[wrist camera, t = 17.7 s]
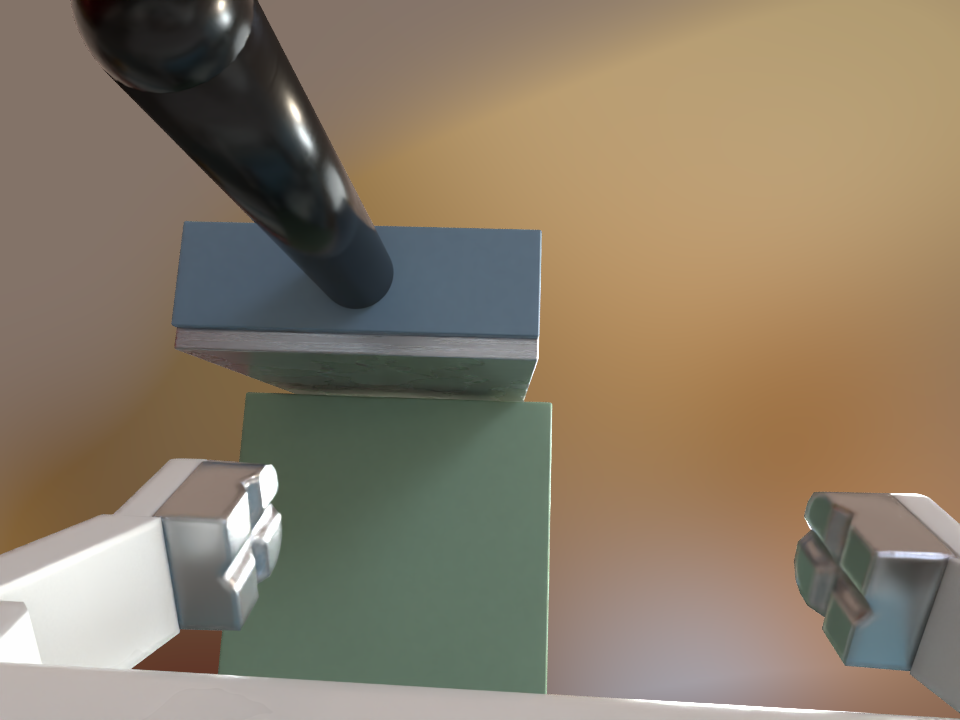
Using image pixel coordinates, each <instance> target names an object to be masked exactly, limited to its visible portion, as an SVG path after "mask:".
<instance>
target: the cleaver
mask: <svg viewBox="0 0 960 720" xmlns="http://www.w3.org/2000/svg"><path fill="white" fill-rule="evenodd" d="M70 1H71V7H72V12H73V18H74V21H75V24H76V26H77V28H78V31H79V33H80V35H81V37H82V39H83V42H84V44H85V46H86V47H87V49H88V50H89V51H90V53H91V54H92V56H93V57H94V58H95V59H96V61H97V62H98V63H99V65H100V66H101V67H102V68H103V70H104V71H105V72H106V73H107V74H108V75H109V76H110V77H111V78H112V79H113V80H114V81H115V82H116V83H117V84H118V85H119V86H120V87H121V88H122V89H123V90H124V91H125V92H126V93H127V94H128V95H129V96H130V97H131V98H132V99H133V100H134V101H135V102H136V103H137V104H138V105H139V106H140V107H141V108H142V109H143V110H144V111H145V112H146V113H147V114H148V115H149V116H150V117H151V118H152V119H153V120H154V121H155V122H156V123H157V124H158V125H159V126H160V127H161V128H162V129H163V130H164V131H165V132H166V133H167V134H168V135H169V136H170V137H171V138H172V139H173V140H174V141H175V142H176V143H177V144H178V145H179V146H180V147H181V148H182V149H183V150H184V151H185V152H186V154H187V155H188V156H189V157H190V158H191V159H192V160H193V161H195V162H196V164H197V165H198V166H199V167H200V168H201V169H202V170H203V171H204V172H205V173H206V174H207V175H208V176H209V177H210V178H211V179H212V180H213V181H214V182H215V183H216V184H217V185H218V186H219V187H220V188H221V189H222V190H223V191H224V192H225V193H226V194H227V195H228V196H229V197H230V198H231V199H232V200H233V201H234V202H235V203H236V204H237V205H238V206H239V207H240V208H241V209H242V210H243V211H244V212H245V213H246V214H247V215H248V216H249V217H250V218H251V219H252V220H253V221H254V222H255V223H233V222H192V221H190V222H189V221H185V222H184V226H183V234H182V242H181V250H180V258H179V267H178V275H177V283H176V291H175V300H174V307H173V315H172V325H173V326H175V327H177V331H176V339H175V349H177V350H179V351H182V352H185V353H187V354H190V355H193V356H196V357H198V358H201V359H204V360H206V361H209V362H212V363H214V364H217V365H220V366H222V367H225V368H228V369H230V370H233V371H236V372H238V373H241V374H244V375H246V376H249V377H252V378H255V379H257V380H260V381H263V382H265V383H268V384H271V385H273V386H276V387H279V388H282V389H284V390H287V391H289V392H292V393H295V394H312V395H342V396H371V397H400V398H429V399H459V400H488V401H517V402H523V401H524V398H525V395H526V392H527V390H528V387H529V384H530V381H531V378H532V375H533V372H534V369H535V367H536V363H537V361H538V344H539V343H538V342H539V328H540V327H539V326H540V325H539V324H540V283H541V237H542V232H541V230H519V229H479V228H437V227H397V226H374V225H373V223H372V221H371V219H370V218H369V216H368V214H367V212H366V210H365V208H364V206H363V204H362V202H361V200H360V198H359V197H358V194H357V192H356V191H355V188H354V187H353V185H352V183H351V181H350V179H349V177H348V175H347V173H346V171H345V169H344V167H343V165H342V163H341V161H340V159H339V157H338V156H337V154H336V152H335V150H334V148H333V146H332V144H331V142H330V140H329V138H328V136H327V135H326V132H325V130H324V128H323V127H322V125H321V123H320V121H319V119H318V117H317V115H316V113H315V111H314V109H313V107H312V105H311V103H310V101H309V99H308V97H307V95H306V94H305V92H304V90H303V88H302V86H301V84H300V82H299V80H298V78H297V76H296V74H295V72H294V70H293V69H292V66H291V65H290V63H289V61H288V59H287V57H286V55H285V53H284V51H283V49H282V47H281V45H280V43H279V41H278V39H277V37H276V35H275V33H274V31H273V30H272V28H271V26H270V24H269V22H268V20H267V18H266V16H265V14H264V12H263V10H262V8H261V6H260V5H259V3H258V0H70Z"/></svg>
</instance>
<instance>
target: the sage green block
mask: <svg viewBox="0 0 960 720" xmlns="http://www.w3.org/2000/svg"><path fill="white" fill-rule="evenodd" d="M551 429H552V404H551V403H546V402H545V403H544V402H517V401H488V400H459V399H429V398H400V397H371V396H342V395H312V394H283V393H282V394H281V393H252V392H248V393H247V394H246V400H245V411H244V421H243V430H242V440H241V451H240V461H239V462H245V463H260V464H272V466H273V467H274V469H275V470H276V473H277V481H278V489H279V490H278V492H277V493H276V495H275V497H274V498H273V500H272V502H271V504H272V505H273V506H274V507H275V509H276V510H277V511H278V512H279V513H280V515H281V522H282V539H281V547H280V551H279V555H278V559H277V563H276V565H275V567H274V569H273V571H272V573H271V575H270V577H268V578H266V579H265V580H263V581H262V582H260V583H258V584H257V587H258V596H259V598H258V599H257V601H256V603H255V605H254V607H253V609H252V611H251V612H250V614H249V616H248V618H247V620H246V622H245V623H244V625H243V627H242V629H241V631H230V630H222V640H221V651H220V660H219V671H218V675H235V676H251V677H268V678H285V679H301V680H318V681H335V682H351V683H368V684H385V685H401V686H418V687H435V688H451V689H468V690H485V691H501V692H518V693H535V694H547V652H548V650H547V648H548V598H549V597H548V595H549V542H550V539H549V538H550V489H551V488H550V487H551V485H550V484H551V435H552V430H551Z"/></svg>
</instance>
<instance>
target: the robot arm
mask: <svg viewBox="0 0 960 720" xmlns="http://www.w3.org/2000/svg"><path fill="white" fill-rule="evenodd" d="M278 490H279V489H278V481H277V473H276V470H275V469H274V467H273V466H272V464H260V463H245V462H230V461H216V460H206V459H171V460H169V461H168V462H167V463H166V464H165V465H164V466H163V467H162V468H161V469H160V470H159V471H158V472H157V473H156V474H155V475H154V476H153V477H152V478H150V480H148V481H147V482H146V483H145V484H144V485H143V486H142V487H141V488H140V489H139V490H138V491H137V492H136V493H135V494H134V495H133V496H132V497H131V498H130V499H129V500H128V501H127V502H126V503H125V504H124V505H123V506H122V507H120V508H119V509H118V510H117V511H116V512H115V513H114V514H113V515H105V514H104V515H103V514H102V515H99V516H97V517H94V518H92V519H89V520H87V521H84V522H82V523H79V524H77V525H74V526H72V527H69V528H66V529H64V530H62V531H59V532H56V533H54V534H52V535H49V536H46V537H44V538H41V539H39V540H36V541H34V542H31V543H29V544H26V545H24V546H21V547H19V548H16V549H13V550H11V551H8V552H6V553H4V554H1V555H0V720H960V719H955V718H937V717H921V716H904V715H887V714H871V713H854V712H836V711H819V710H804V709H787V708H768V707H753V706H737V705H735V706H734V705H719V704H703V703H685V702H669V701H668V702H667V701H652V700H634V699H619V698H602V697H585V696H569V695H568V696H567V695H551V694H535V693H518V692H501V691H485V690H468V689H451V688H435V687H418V686H401V685H385V684H368V683H351V682H335V681H318V680H301V679H285V678H268V677H251V676H235V675H218V674H201V673H184V672H183V673H182V672H167V671H151V670H135V669H131V668H132V667H134V666H135V665H136V664H138V663H139V662H140V661H142V660H143V659H144V658H146V657H147V656H149V655H150V654H151V653H153V652H154V651H155V650H157V649H158V648H159V647H161V646H162V645H163V644H165V643H166V642H167V641H169V640H170V639H171V638H173V637H174V636H175V635H177V634H178V633H179V632H180V629H195V630H230V631H241V629H242V627H243V625H244V623H245V622H246V620H247V618H248V616H249V614H250V612H251V611H252V609H253V607H254V605H255V603H256V601H257V599H258V598H259V596H258V587H257V584H258V583H260V582H262V581H263V580H265V579H266V578H268V577H270V575H271V573H272V571H273V569H274V567H275V565H276V563H277V559H278V555H279V551H280V547H281V539H282V522H281V515H280V513H279V512H278V511H277V510H276V509H275V507H274V506H273V505H272V504H271V502H272V500H273V498H274V497H275V495H276V493H277V492H278ZM804 517H805V519H806V521H807V523H808V524H809V526H810V528H811V530H810V531H809V532H808V533H807V534H806V535H805V536H804V537H803V538H802V539H800V540H799V541H798V544H797V549H796V554H795V559H794V564H795V578H796V582H797V585H798V588H799V591H800V594H801V595H802V597H803V598H804V600H805V602H806V604H807V605H808V606H809V607H810V608H812V609H814V610H815V611H816V612H818V613H819V614H821V615H822V616H824V617H825V619H824V623H823V627H822V630H823V631H824V633H825V634H826V636H827V638H828V639H829V641H830V642H831V644H832V646H833V647H834V649H835V650H836V652H837V653H838V655H839V657H840V658H841V660H842V661H843V663H844V664H845V666H857V667H869V668H879V669H892V670H903V671H910V674H911V675H912V676H913V677H914V678H916V679H917V680H918V681H920V682H921V683H922V684H923V685H924V686H926V687H927V688H928V689H930V690H931V691H932V692H933V693H935V694H936V695H937V696H939V697H940V698H941V699H942V700H944V701H945V702H946V703H947V704H949V705H950V706H951V707H953V708H954V709H955V710H956V711H958V712H959V713H960V524H959V523H958V522H956V521H955V520H954V519H953V518H952V517H951V516H950V515H948V514H947V513H946V512H945V511H944V510H943V509H941V508H940V507H939V506H938V505H937V504H936V503H935V502H934V501H932V500H931V499H930V498H929V497H926V496H923V495H920V494H889V493H849V492H847V493H846V492H814V493H813V495H812V496H811V498H810V499H809V501H808V503H807V507H806V511H805V515H804Z"/></svg>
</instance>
